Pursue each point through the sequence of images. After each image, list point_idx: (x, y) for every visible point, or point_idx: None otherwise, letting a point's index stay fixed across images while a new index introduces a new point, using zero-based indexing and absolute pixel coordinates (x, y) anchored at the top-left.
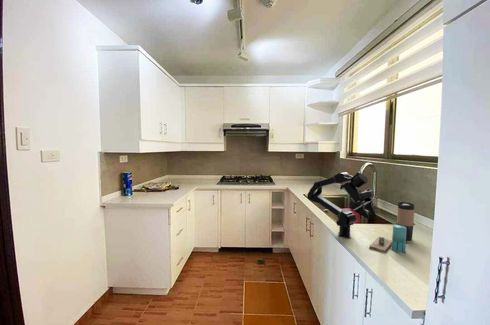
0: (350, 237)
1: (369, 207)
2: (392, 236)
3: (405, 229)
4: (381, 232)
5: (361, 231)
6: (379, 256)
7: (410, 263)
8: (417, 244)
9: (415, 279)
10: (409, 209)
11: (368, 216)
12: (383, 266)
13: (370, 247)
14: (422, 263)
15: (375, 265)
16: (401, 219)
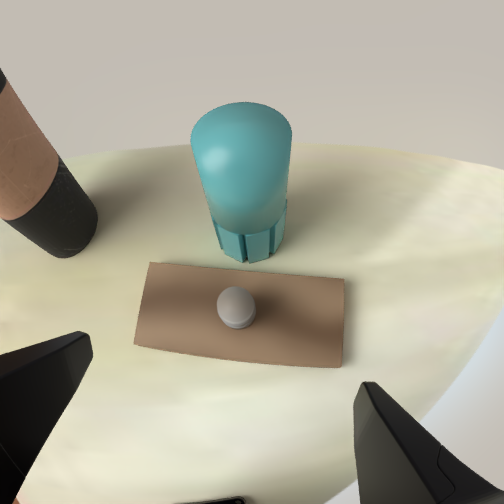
0: (242, 499)
1: (2, 425)
2: (254, 223)
3: (264, 109)
4: (31, 331)
5: (70, 440)
6: (404, 298)
7: (370, 183)
8: (118, 176)
9: (465, 176)
10: (4, 80)
11: (391, 398)
12: (473, 264)
13: (339, 361)
14: (332, 151)
15: (487, 290)
16: (26, 168)
